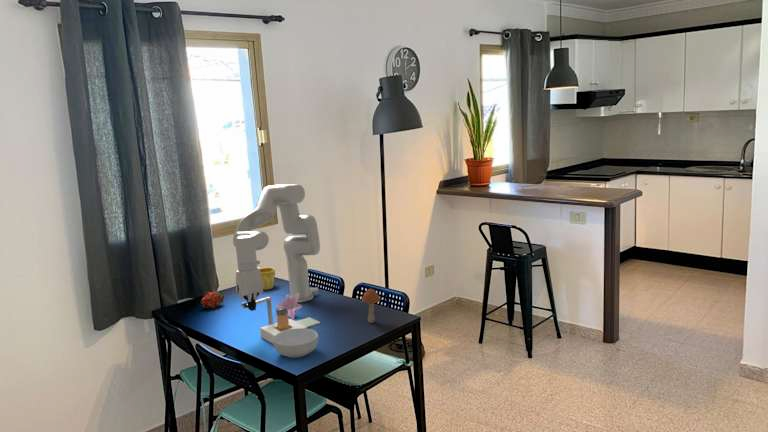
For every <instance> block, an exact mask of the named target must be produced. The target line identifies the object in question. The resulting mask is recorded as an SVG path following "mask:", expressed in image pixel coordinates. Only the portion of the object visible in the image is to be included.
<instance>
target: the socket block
mask: <svg viewBox="0 0 768 432" xmlns="http://www.w3.org/2000/svg"><path fill="white" fill-rule="evenodd" d="M266 308H267V317H268V325H264V326H262V327H260V328H259V330H260V337H261V338H263V340H265V341H267V342H269V343H270V344H273V338H274V336H275V335H277V334H278V333H280V332H282V331H279V330H278V325H277V322H275V323H274V317H273V307H272V300H268V301H266ZM288 321H289V329H286V330H290V329H297V328H305V329H308V328H307V327H306V326H304V325H302V324H300V323H298V322H296V321H297V320H294V319H292V318H288ZM286 330H283V331H286ZM273 345H274V344H273Z"/></svg>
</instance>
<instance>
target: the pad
mask: <svg viewBox="0 0 768 432" xmlns="http://www.w3.org/2000/svg"><path fill="white" fill-rule="evenodd" d="M295 321H296V322H298V323H300V324H302V325H304V326H306V327H307V329H309V328H310V327H311V328H312V327H313V326H316V325H320V324H321V321H319V320H316V319H314V318H312V317H310V316H309V317H305V318H303V319H299V320H295Z"/></svg>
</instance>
